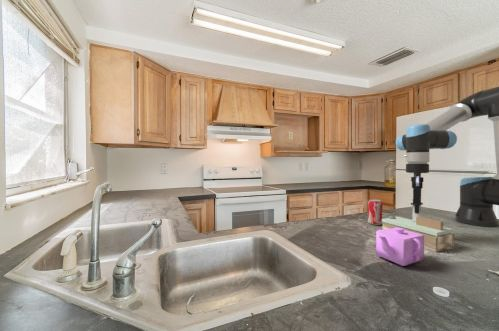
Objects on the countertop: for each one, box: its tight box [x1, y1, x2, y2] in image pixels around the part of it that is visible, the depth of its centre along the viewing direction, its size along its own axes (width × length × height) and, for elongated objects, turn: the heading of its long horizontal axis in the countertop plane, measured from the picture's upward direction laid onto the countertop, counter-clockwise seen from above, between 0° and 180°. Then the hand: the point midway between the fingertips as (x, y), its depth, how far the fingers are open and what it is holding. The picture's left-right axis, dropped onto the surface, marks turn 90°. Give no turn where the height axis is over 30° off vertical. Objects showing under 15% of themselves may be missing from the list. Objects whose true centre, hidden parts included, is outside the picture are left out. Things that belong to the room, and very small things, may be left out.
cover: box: [382, 215, 454, 236], centre depth 87 cm, size 20×10×4 cm, turn 23°
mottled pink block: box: [375, 228, 425, 267], centre depth 70 cm, size 18×14×10 cm
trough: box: [381, 222, 455, 253], centre depth 86 cm, size 10×20×5 cm, turn 20°
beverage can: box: [367, 198, 383, 226], centre depth 109 cm, size 6×6×12 cm
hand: (416, 220), depth 89 cm, fingers closed
